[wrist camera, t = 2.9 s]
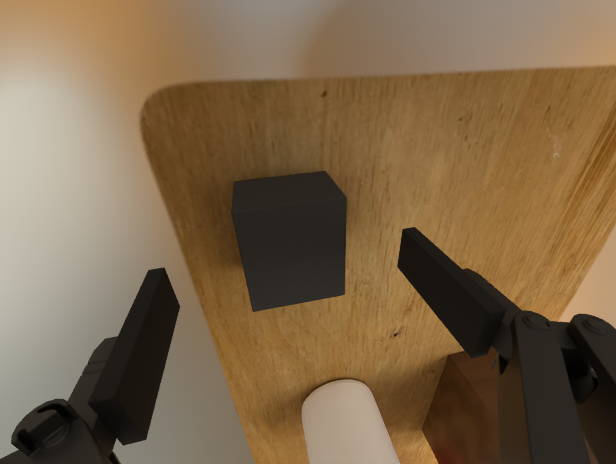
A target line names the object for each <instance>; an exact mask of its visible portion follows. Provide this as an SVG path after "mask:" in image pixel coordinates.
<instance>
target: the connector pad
mask: <svg viewBox="0 0 616 464" xmlns="http://www.w3.org/2000/svg"><path fill="white" fill-rule="evenodd" d="M346 206H347V197H346V196H345V195H344V193H343V192H342V191H341V190H340V189H339V187H338V186H337V185H336V184H335V182H334V181H333V180H332V179H331V177H330V176H329V175H328V174H327V172H326V171H322V172H313V173H305V174H296V175H288V176H279V177H271V178H263V179H254V180H246V181H237V182H234V188H233V200H232V212H231V213H232V218H233V223H234V227H235V232H236V236H237V241H238V246H239V250H240V255H241V259H242V264H243V269H244V273H245V278H246V282H247V287H248V292H249V296H250V301H251V305H252V310H253V312H255V311H261V310H266V309H271V308H277V307H282V306H287V305H293V304H298V303H304V302H309V301H314V300H320V299H325V298H330V297H336V296H341V295H345V254H346Z"/></svg>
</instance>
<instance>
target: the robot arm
mask: <svg viewBox="0 0 616 464" xmlns="http://www.w3.org/2000/svg"><path fill="white" fill-rule="evenodd" d="M397 267H398V268H399V269H400V271H401V272H402V273H403V274H404V276H405V277H406V278H407V279H408V281H409V282H410V283H411V284H412V285H413V287H414V288H415V289H416V290H417V292H418V293H419V294H420V295H421V297H422V298H423V299H424V300H425V302H426V303H427V304H428V305H429V307H430V308H431V309H432V310H433V312H434V313H435V314H436V315H437V317H438V318H439V319H440V320H441V321H442V323H443V324H444V325H445V326H446V328H447V329H448V330H449V331H450V333H451V334H452V335H453V336H454V338H455V339H456V340H457V341H458V343H459V344H460V345H461V346H462V348H463V349H464V350H465V351H466V353H467V354H468V355H469V356H470V358H471V359H473V358H477V357H481V356H485V355H487V354H488V352H489V350H490V347H491V346H492V347H493V348H494V349H495V350H496V351H497V354H496V357H495V359H494V361H493V363H492V365H491V369H492V370H494V368H495V366H496V383H497V410H498V437H499V464H591V463H590V459H589V455H588V451H587V447H586V443H585V440H584V436H585V438H586V440H587V442H588V444H589V446H590V448H591V450H592V452H593V454H594V456H595V457H596V459H597V461H598V463H599V464H616V329H615V328H614V327H613V326H612V325H610V324H609V323H607V322H606V321H604V320H602V319H600V318H598V317H595V316H592V315H588V314H577V315H575V316H573V318H572V320H571V321H570V323H568V322H554V321H549V320H548V319H547V318H545V317H544V316H542V315H540V314H538V313H535V312H532V311H526V310H524V311H522V310H521V309H520V308H518V307H517V306H516V305H515V304H514V303H513V302H511V301H510V300H509V299H508V298H507V297H506V296H504V295H503V294H502V293H501V292H500V291H498V290H497V289H495V288H494V286H493V285H491V284H490V283H488V282H487V280H485V279H484V278H483V277H482V276H481V275H480V274H478V273H476V272H474V271H472V270H470V269H468V268H467V269H461V268H460V267H459V266H458V265H457V264H456V263H454V262H453V261H452V260H451V259H450V258H449V257H448V256H447V255H445V254H444V253H443V252H442V251H441V250H440V249H439V248H438V247H437V246H435V245H434V244H433V243H432V242H431V241H430V240H429V239H428V238H426V237H425V236H424V235H423V234H422V233H421V232H420V231H419V230H417V229H416V228H415V227H412V228H406V229H403V230H402V237H401V244H400V251H399V259H398V266H397ZM179 309H180V305H179V303H178V300H177V298H176V295H175V293H174V290H173V288H172V285H171V283H170V280H169V278H168V275H167V273H166V270H165V268H158V269H152V270H148V272H147V274H146V277H145V279H144V281H143V283H142V285H141V287H140V290H139V292H138V294H137V296H136V298H135V300H134V303H133V305H132V307H131V309H130V311H129V314H128V316H127V318H126V320H125V322H124V324H123V327H122V329H121V331H120V333H119V335H118V336H117V337H112V338H107V339H104V341H103V342H102V343H101V344H100V345H99V346H98V347H97V348H96V349H95V350H94V352H93V354H92V356H91V357H90V359H89V361H88V365H86V367H85V369H84V371H83V373H82V376H80V378H79V380H78V382H77V384H76V386H75V388H74V390H73V392H72V394H71V396H70V398H69V400H68V401H66V400H64V399H54V400H51V401H48V402H45V403H43V404H42V405H40V406H38V407H36V408H35V409H34V410H33V411H31V412H30V413H29V414H27V415H26V416H25V417H24V418H23V419H22V421H21V422H20V423H19V424H18V425H17V427H16V428H15V430H14V432H13V435H12V440H11V444H12V445H14V446H15V447H16V448H17V449H19V450H17V451H16V452H13V453H11V454H9V455H7V456H5V457H3V458H1V459H0V464H121V463H120V462H119V460H118V458H117V457H116V455H115V453H114V452H113V451H112V450H113V447H114V444H115V441H116V438H117V439H118V440H119V441H120V442H121V444H122V445H127V444H131V443H135V442H139V441H143V440H146V438H147V434H148V430H149V426H150V423H151V419H152V415H153V411H154V407H155V402H156V399H157V395H158V391H159V387H160V383H161V379H162V375H163V371H164V368H165V364H166V360H167V356H168V352H169V348H170V344H171V340H172V336H173V332H174V328H175V324H176V320H177V316H178V312H179ZM594 371H595V372H594ZM583 434H584V436H583Z"/></svg>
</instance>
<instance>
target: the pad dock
mask: <svg viewBox="0 0 616 464" xmlns="http://www.w3.org/2000/svg"><path fill="white" fill-rule="evenodd" d="M496 354H497V351H496V350H495V349H494V348H493V347H492V346H491V347H490V350H489V352H488V354H487V355H485V356H481V357H477V358H473V359H471V358H470V356H469V355H468V354H467V353H466V352H461V353H457V354H452V355H449V357H448V360H447V363H446V365H445V368H444V371H443V374H442V376H441V379H440V382H439V385H438V387H437V390H436V393H435V396H434V399H433V401H432V404H431V407H430V410H429V412H428V415H427V418H426V421H425V423H424V426H423V429H422V431H423V433H424V435H425V437H426V439H427V441H428V443H429V445H430V447H431V449H432V451H433V453H434V455H435V457H436V459H437V461H438V463H439V464H499V437H498V410H497V383H496V366H495V368H494V370H492V369H491V365H492V363H493V361H494V359H495V357H496ZM583 436H584V434H583ZM584 440H585V443H586V447H587V451H588V455H589V459H590V463H591V464H599V463H598V461H597V459H596V457H595V456H594V454H593V452H592V450H591V448H590V446H589V444H588V442H587V440H586V438H585V436H584Z"/></svg>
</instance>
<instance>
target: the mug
mask: <svg viewBox="0 0 616 464" xmlns="http://www.w3.org/2000/svg"><path fill="white" fill-rule="evenodd" d="M302 423H303V429H304V435H305V441H306V447H307V453H308V459H309V464H400V462H399V459H398V457H397V454H396V452H395V449H394V447H393V444H392V442H391V439H390V437H389V434H388V432H387V429H386V427H385V424H384V422H383V419H382V417H381V414H380V412H379V409H378V407H377V404H376V402H375V399H374V397H373V395H372V392H371V391H370V389H369V388H368V387H367V386H366V385H365V384H364V383H362V382H360V381H357V380H352V379H343V380H337V381H333V382H330V383H327V384H325V385H322V386H321V387H319V388H317V389H316V390H314V391H313V392H312V393H311V394H310V395H309V396H308V397H307V398H306V399H305V401H304V403H303V406H302Z"/></svg>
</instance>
